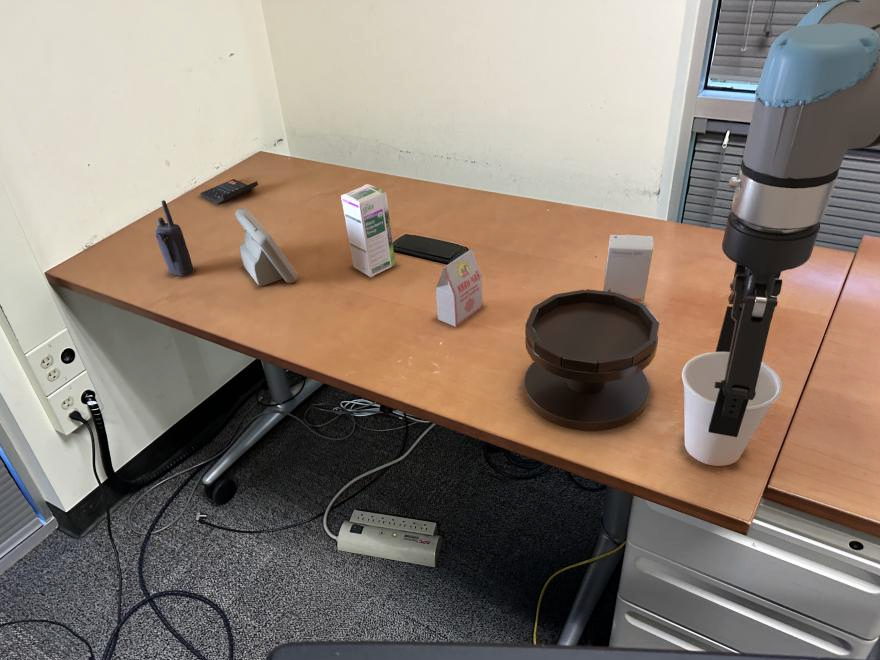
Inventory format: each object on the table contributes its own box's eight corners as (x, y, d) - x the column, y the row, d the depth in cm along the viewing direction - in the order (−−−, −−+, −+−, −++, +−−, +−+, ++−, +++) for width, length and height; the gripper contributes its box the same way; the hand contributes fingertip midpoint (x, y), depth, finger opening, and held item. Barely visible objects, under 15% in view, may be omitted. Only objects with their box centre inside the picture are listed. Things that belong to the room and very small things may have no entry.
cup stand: (654, 363, 95) (666, 296, 88) (639, 442, 84) (651, 372, 77) (538, 347, 101) (541, 283, 94) (511, 418, 90) (511, 351, 83)
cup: (671, 476, 79) (687, 405, 72) (663, 418, 87) (677, 349, 80) (766, 484, 77) (792, 411, 70) (750, 423, 84) (772, 352, 77)
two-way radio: (198, 269, 133) (174, 197, 124) (185, 281, 130) (159, 208, 121) (176, 266, 136) (151, 195, 126) (162, 278, 133) (135, 206, 123)
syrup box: (371, 278, 122) (360, 202, 113) (352, 267, 126) (340, 193, 117) (396, 266, 125) (387, 190, 116) (376, 255, 129) (366, 182, 120)
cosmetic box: (600, 317, 105) (607, 247, 97) (602, 302, 108) (609, 233, 100) (642, 320, 103) (653, 249, 95) (643, 304, 106) (653, 235, 98)
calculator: (234, 182, 166) (231, 170, 164) (260, 193, 158) (257, 181, 156) (201, 196, 161) (197, 184, 160) (226, 208, 154) (223, 196, 152)
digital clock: (300, 285, 124) (289, 232, 117) (251, 297, 123) (237, 244, 116) (286, 246, 136) (274, 196, 130) (241, 257, 135) (228, 206, 128)
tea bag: (437, 319, 110) (433, 264, 104) (464, 300, 113) (462, 246, 107) (455, 326, 108) (452, 271, 101) (482, 307, 111) (481, 252, 105)
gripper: (733, 159, 73) (696, 324, 86) (723, 281, 56) (679, 462, 69) (815, 163, 70) (764, 332, 83) (831, 292, 53) (763, 479, 66)
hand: (725, 392), depth 76 cm, fingers open, 13 cm apart
